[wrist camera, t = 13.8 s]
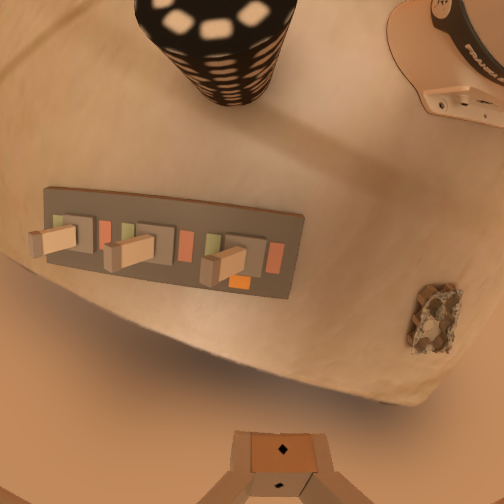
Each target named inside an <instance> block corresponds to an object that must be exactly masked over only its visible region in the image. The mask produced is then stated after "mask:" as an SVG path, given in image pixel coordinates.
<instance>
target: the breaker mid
mask: <svg viewBox="0 0 504 504" xmlns="http://www.w3.org/2000/svg"><path fill="white" fill-rule="evenodd" d="M103 251H104V269H106V270H108V271H109V272H111V273H114V272H116V271H119V270H121V268H124V267H127V266H130V265H133V264H136V263H139V262H142V261H145V260H148V259H151V258H153V257H154V236H151V235H148V234H145V235H141V236H137V237H133V238H129V239H125V240H122V241H118V242H109V243H105V244H103Z"/></svg>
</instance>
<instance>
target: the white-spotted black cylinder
mask: <svg viewBox="0 0 504 504" xmlns="http://www.w3.org/2000/svg"><path fill="white" fill-rule="evenodd" d="M296 4H297V0H134V9H135V16H136V19H137V21H138V24H139V26H140V28H141V29H142V31H143V32H144V33H145V35H146V36H147V37H148V38H149V39H150V40H151V41H152V42H153V43H154V44H155V45H156V46H157V47H158V48H159V49H160V50H161V51H162V52H163V53H164V54H165V55H166V56H167V57H168V58H169V59H170V60H171V61H172V62H173V63H174V64H175V65H176V66H177V67H178V68H179V69H180V70H181V71H182V72H183V74H184V75H185V76H186V77H187V78H188V79H189V80H190V81H191V82H192V83H193V84H194V85H195V86H196V87H197V88H198V89H199V90H200V92H201V93H202V94H203V95H204V96H205V97H206V98H208V99H209V100H211V101H212V102H214V103H216V104H219V105H222V106H228V107H236V106H242V105H245V104H248V103H251V102H252V101H254V100H256V99H257V98H258V97H259V96H261V95H262V94H263V92H264V91H265V90H266V88H267V86H268V84H269V82H270V79H271V76H272V74H273V71H274V68H275V65H276V62H277V59H278V56H279V53H280V50H281V47H282V44H283V42H284V39H285V36H286V33H287V30H288V27H289V25H290V22H291V19H292V16H293V14H294V11H295V8H296Z"/></svg>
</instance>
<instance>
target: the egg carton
mask: <svg viewBox="0 0 504 504" xmlns="http://www.w3.org/2000/svg"><path fill="white" fill-rule="evenodd" d="M452 294H453V295H452ZM462 294H463V291H462V290H460V289H455V288H453V287H452V286H451V285H450V284H444V287H443V288H442V290H440V291H439V292H438V290H437V289H435V288H434V287H433V286H432V285H427V286H426V288H425V289H424V291H422V292H421V293H418V295H417V300H418V301H419V302H420V303H421V304H422V306H421V309H420V310H419V311H418V312H417V313H416V314H413V316H412V321H413V322H414V324H415V325H416V328H415V330H414V331H413V332H412V333H410V334H408V336H407V341H408V342H409V343H410V345H411V346H412V354H416V355H418V354H419V353H424V354H427V351H433V352H435V353H447V354H449V352H450V349H451V348H452V344H453V342H454V337H455V336H454V330H455V328H456V326H457V319H458V315H459V313H460V307H461V296H462ZM451 295H452V297H450V296H451ZM432 296H433V297H441V298H442V299H443V300H447V299H448V297H450V298H449V299H448V300H447V301H446V303H445V305H444V304H443V303H442V302H441V301H439V300H438V299H436V298H435V299H432V300H431V301H430V302H429V299H430V298H431V297H432ZM446 311H447V316H446ZM430 314H431V315H432V316H433V317H434V318H435V319H436V320H437V321H440V323H439V327H440V329H441V330H442V333H441V335H439V336H437V337H436V338H435V340H434V341H433V342H430V340H429V339H428V338H427V337H424V338H422V339H421V336H422V333H424V332H423V331H425V332H427V331H429V330H431V329H432V328H433V326H434V320H433V319H428V318H427V317H428V316H430ZM427 319H428V320H427ZM423 321H425V322H424V323H423ZM419 323H420V324H421V325H422V324H423V325H422V329H421V328H420V327H421V325H420V324H419ZM419 339H420V340H419ZM418 340H419V341H418ZM416 341H418V342H417V344H416ZM412 354H411V355H412Z"/></svg>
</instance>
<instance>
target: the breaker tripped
mask: <svg viewBox="0 0 504 504" xmlns="http://www.w3.org/2000/svg"><path fill="white" fill-rule="evenodd" d="M246 251H247V249H245V248H242V247H239V246H235V247H233V248H230V249H227V250H224V251H222V252H219V253H216V254H213V255H210V254H209V255H206V256H203V257H201V268H200V279H199V283H201V284H203V285H206V286H208V287H210V288H211V287H213V286H215V285H217V284H218V283H219V282H220V281H222V280H224V279H226V278H228V277H230V276H232V275H235V274H237V273H239V272H241V271H243V270H244V265H245V258H246Z"/></svg>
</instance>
